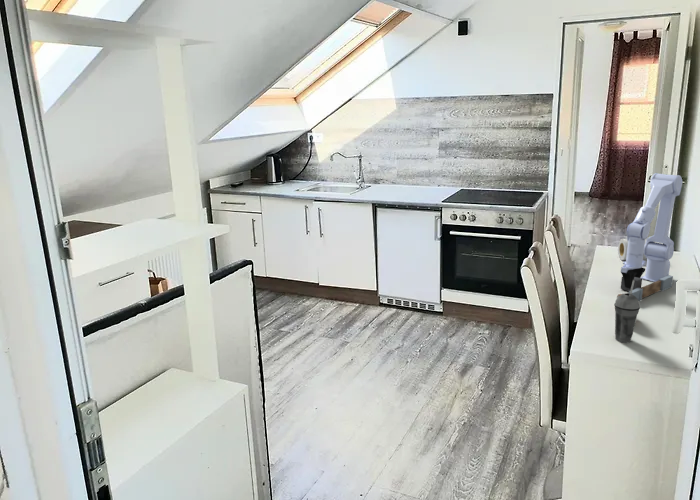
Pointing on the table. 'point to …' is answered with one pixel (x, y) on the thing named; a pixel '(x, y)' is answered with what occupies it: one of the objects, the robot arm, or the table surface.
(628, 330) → the beverage cup
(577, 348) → the table surface
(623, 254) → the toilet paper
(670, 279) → the wall frame
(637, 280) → the grey rectangular prism
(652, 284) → the door
